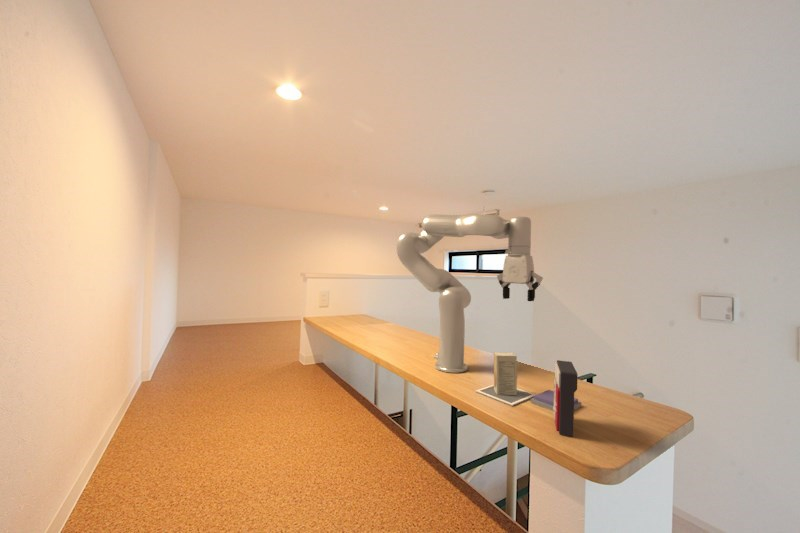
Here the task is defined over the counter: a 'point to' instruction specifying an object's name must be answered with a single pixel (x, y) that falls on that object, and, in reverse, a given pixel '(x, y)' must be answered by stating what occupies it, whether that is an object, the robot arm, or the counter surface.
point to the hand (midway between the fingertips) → (518, 299)
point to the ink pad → (549, 400)
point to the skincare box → (505, 373)
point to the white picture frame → (506, 396)
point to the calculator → (564, 397)
